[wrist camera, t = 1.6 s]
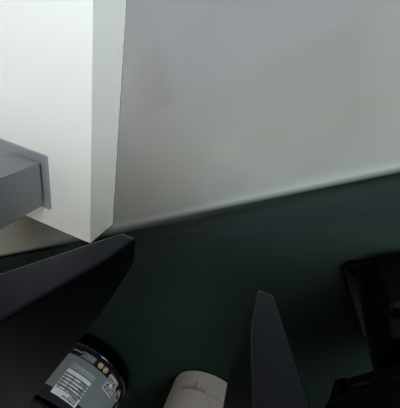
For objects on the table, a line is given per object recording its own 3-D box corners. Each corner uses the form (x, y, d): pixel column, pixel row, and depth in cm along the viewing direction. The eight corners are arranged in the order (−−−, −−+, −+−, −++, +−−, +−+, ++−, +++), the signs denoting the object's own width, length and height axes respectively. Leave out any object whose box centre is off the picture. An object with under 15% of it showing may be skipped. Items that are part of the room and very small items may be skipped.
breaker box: (137, -177, 13) (92, -235, 11) (112, 224, 25) (88, 244, 22) (-101, -202, 16) (-184, -253, 13) (-23, 169, 28) (-59, 181, 25)
